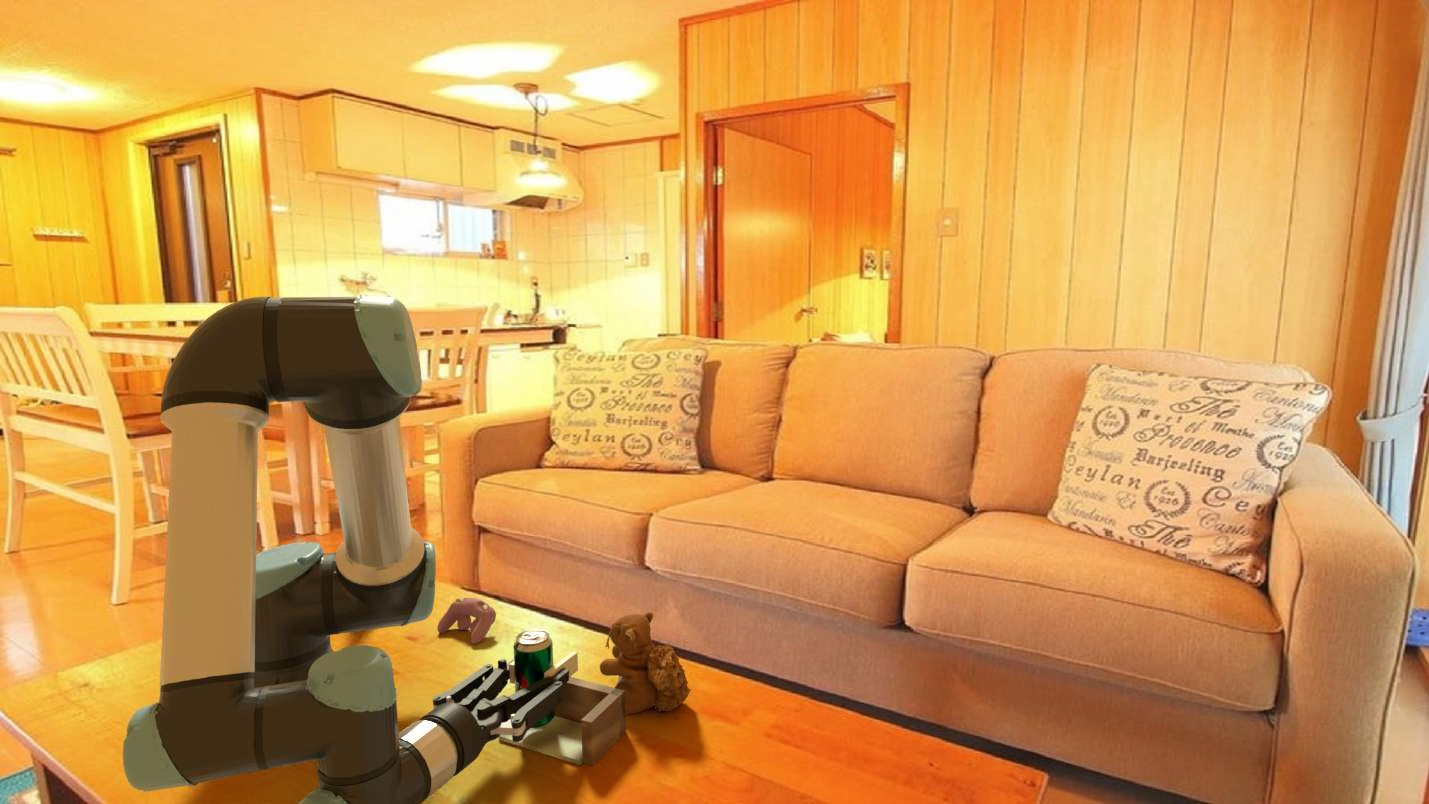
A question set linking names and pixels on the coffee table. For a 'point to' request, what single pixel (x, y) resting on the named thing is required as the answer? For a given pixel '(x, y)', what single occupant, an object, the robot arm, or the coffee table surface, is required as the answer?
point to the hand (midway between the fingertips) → (558, 656)
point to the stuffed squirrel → (644, 667)
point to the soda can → (533, 662)
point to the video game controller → (462, 614)
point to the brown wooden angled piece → (579, 724)
